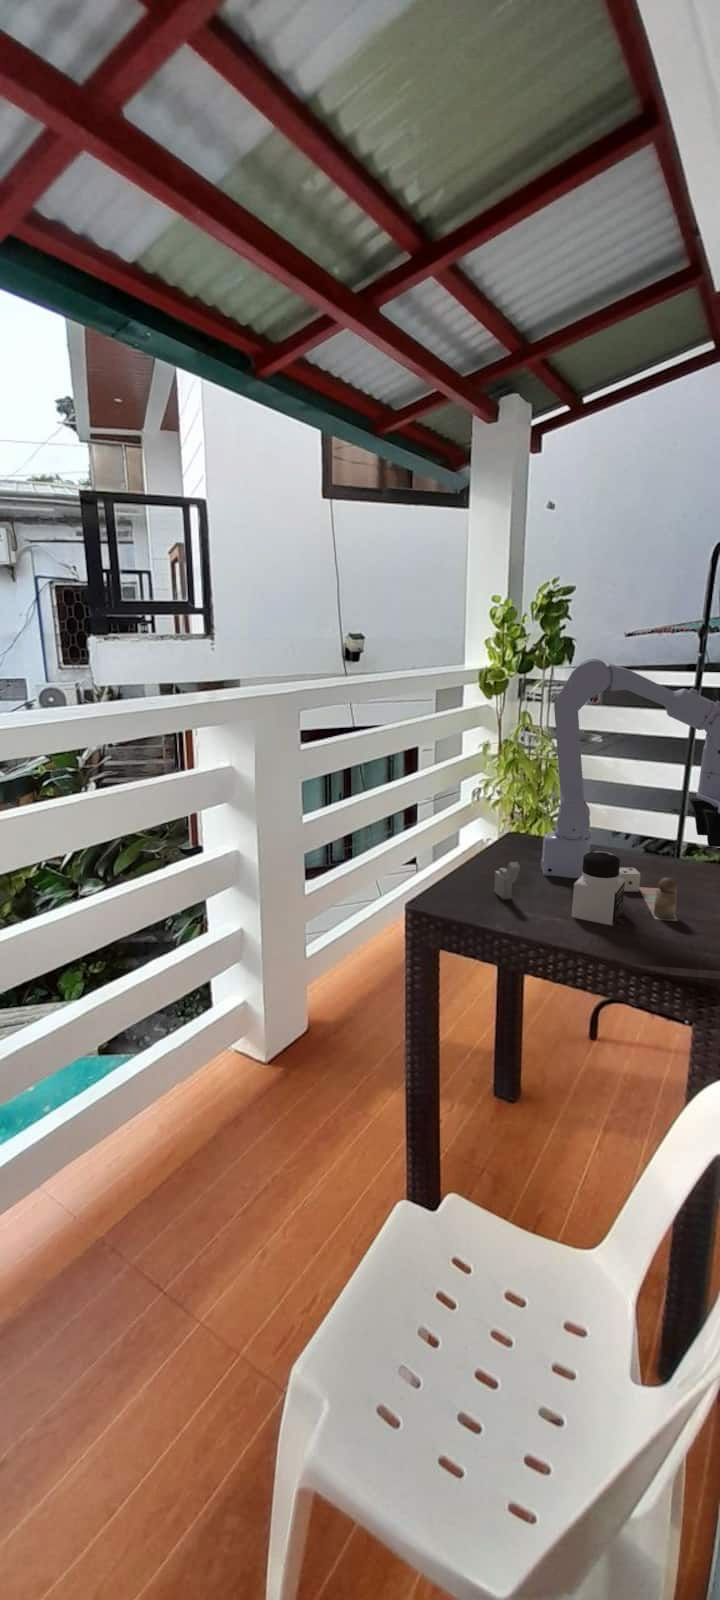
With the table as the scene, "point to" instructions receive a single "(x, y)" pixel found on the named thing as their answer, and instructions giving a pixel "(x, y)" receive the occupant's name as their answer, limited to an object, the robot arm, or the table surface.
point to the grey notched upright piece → (506, 880)
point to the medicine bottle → (599, 889)
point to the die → (630, 878)
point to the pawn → (666, 899)
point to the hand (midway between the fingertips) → (708, 840)
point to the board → (651, 900)
